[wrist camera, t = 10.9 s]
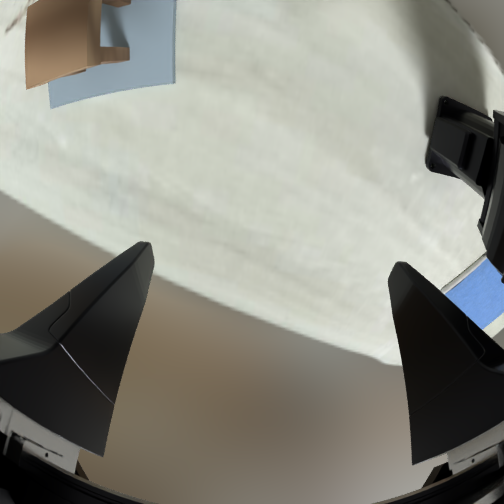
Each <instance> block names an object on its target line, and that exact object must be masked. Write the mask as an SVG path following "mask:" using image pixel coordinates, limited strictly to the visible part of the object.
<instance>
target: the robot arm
mask: <svg viewBox="0 0 504 504" xmlns="http://www.w3.org/2000/svg"><path fill="white" fill-rule="evenodd" d="M445 100H446V104H444V101H445ZM493 118H494V122H492V119H491V118H490V117H488V116H486V115H484V114H482V113H481V112H479V111H477V110H475V109H473V108H471V107H468V106H466V105H464V104H462V103H460V102H458V101H455V100H453V99H451V98H448V97H446V96H441V97H440V99H439V105H438V111H437V116H436V120H435V125H434V130H433V135H432V139H431V144H430V150H429V154H428V158H427V162H426V167H427V169H428V170H430V171H431V172H435V173H440V174H444V175H447V176H451V177H455V178H459V179H461V180H463V181H464V182H465V183H466V184H468V185H469V186H470V187H471V188H472V189H473V190H475V191H476V192H477V193H478V194H479V195H480V196H481V197H483V198H484V199H485V200H484V205H483V210H482V214H481V218H480V219H479V221H478V225H477V226H478V229H479V231H480V233H481V235H482V240H483V243H484V245H485V248H486V250H487V251H486V257H487V259H488V260H489V261H490V263H491V264H492V265H493V266H494V267H495V269H496V270H497V271H498V272H499V273H500V274H501V275H502V278H501V282H502V283H503V284H504V112H502V111H497V110H493ZM432 163H433V166H432V167H431V164H432ZM153 269H154V256H153V251H152V246H151V243H149V242H142V241H140V242H138V243H136V244H135V245H133V246H132V247H130V248H129V249H127V250H126V251H124V252H123V253H121V254H120V255H118V256H117V257H116V258H114V259H113V260H111V261H110V262H109V263H107V264H106V265H104V266H103V267H101V268H100V269H99V270H97V271H96V272H94V273H93V274H92V275H90V276H89V277H87V278H86V279H85V280H83V281H82V282H81V283H79V284H78V285H77V286H75V287H74V288H73V289H71V291H69V292H67V293H66V294H65V295H63V296H62V297H61V298H60V299H58V300H57V301H55V302H54V303H53V304H51V305H50V306H48V307H47V308H46V309H44V310H43V311H41V312H40V313H38V314H37V315H36V316H34V317H32V318H31V319H30V320H28V321H27V322H25V323H24V324H22V325H21V326H20V327H18V328H17V329H15V330H13V331H11V332H8V333H3V334H0V504H157V503H153V502H149V501H146V500H142V499H138V498H135V497H132V496H129V495H126V494H123V493H120V492H117V491H114V490H111V489H108V488H106V487H103V486H100V485H98V484H96V483H93V482H91V481H89V479H88V478H87V476H86V474H85V472H84V471H83V469H82V467H81V465H80V463H79V462H78V460H77V459H78V455H79V451H80V448H81V449H83V450H85V451H88V452H91V453H93V454H95V455H98V456H101V457H103V455H104V451H105V446H106V441H107V436H108V432H109V427H110V422H111V418H112V414H113V410H114V404H115V401H116V397H117V393H118V389H119V386H120V381H121V378H122V374H123V371H124V367H125V364H126V361H127V357H128V354H129V351H130V347H131V344H132V341H133V338H134V335H135V331H136V329H137V326H138V323H139V320H140V317H141V314H142V311H143V307H144V305H145V302H146V298H147V294H148V289H149V285H150V281H151V276H152V273H153ZM388 287H389V293H390V300H391V307H392V314H393V320H394V325H395V329H396V334H397V339H398V344H399V349H400V354H401V360H402V365H403V372H404V378H405V385H406V392H407V400H408V409H409V415H410V416H409V419H410V431H411V432H410V433H411V450H412V465H416V464H419V463H422V462H425V461H428V460H430V459H433V458H436V457H438V456H441V455H444V454H446V453H447V457H448V462H446V463H444V464H441V465H439V466H437V467H434V468H433V470H432V472H431V474H430V475H429V477H428V479H427V480H426V482H425V483H424V485H423V487H422V488H421V489H419V490H416V491H413V492H410V493H407V494H405V495H401V496H398V497H395V498H391V499H388V500H384V501H381V502H377V503H373V504H504V349H502V348H501V347H500V346H499V345H498V344H497V343H496V342H495V341H494V340H493V339H492V338H490V337H489V336H488V335H487V334H486V333H485V332H484V331H483V330H482V329H481V328H480V327H479V326H477V325H476V324H475V323H474V322H473V321H472V320H471V319H470V318H469V317H468V316H466V314H465V313H464V312H463V311H462V310H461V309H460V308H459V307H457V306H456V305H455V304H454V303H453V302H452V301H451V300H450V299H449V298H448V297H447V296H445V295H444V294H443V293H442V292H441V291H440V290H439V289H438V288H436V287H435V286H434V285H433V284H432V283H431V282H430V281H428V280H427V279H426V278H425V277H424V276H423V275H421V274H420V273H419V272H418V271H417V270H415V269H414V268H413V267H412V266H410V265H409V264H408V263H407V262H400V261H398V262H396V263H395V265H394V267H393V269H392V271H391V273H390V275H389V278H388Z"/></svg>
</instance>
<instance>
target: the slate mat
mask: <svg viewBox="0 0 504 504" xmlns="http://www.w3.org/2000/svg"><path fill="white" fill-rule="evenodd" d="M175 22H176V0H131V4H130V5H126V6H122V7H119V8H117V7H114V6H110V5H106V4H102V9H101V33H100V46H104V47H129V48H130V60H129V61H124V62H120V63H111V64H101V65H98V66H94V67H91V68H88V69H86V72H82V73H79V74H76V75H71V76H66V77H61V78H58V79H55V80H53V81H50V82H48V87H49V98H50V107H51V109H53V108H56V107H59V106H62V105H65V104H69V103H72V102H76V101H79V100H83V99H87V98H91V97H95V96H100V95H104V94H109V93H114V92H119V91H124V90H130V89H136V88H142V87H149V86H156V85H165V84H174V83H175Z"/></svg>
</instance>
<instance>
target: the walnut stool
mask: <svg viewBox="0 0 504 504" xmlns="http://www.w3.org/2000/svg"><path fill="white" fill-rule="evenodd" d="M102 4H106V5H110V6H114V7H117V8H119V7H122V6H126V5H130V4H131V0H39V1H37V2H35V3H34V4H32V5H31V6H29V7H28V9H27V19H26V34H25V74H26V90H27V89H30V88H33V87H37V86H40V85H43V84H45V83H48V82H50V81H53V80H55V79H58V78H61V77H66V76H71V75H76V74H79V73H82V72H86V69H88V68H91V67H94V66H98V65H101V64H111V63H120V62H124V61H129V60H130V48H129V47H104V46H100V33H101V9H102Z"/></svg>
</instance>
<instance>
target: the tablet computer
mask: <svg viewBox="0 0 504 504" xmlns="http://www.w3.org/2000/svg"><path fill="white" fill-rule="evenodd" d="M501 278H502V275H501V274H500V273H499V272H498V271H497V270H496V269H495V267H494V266H493V265H492V264H491V263H490V261H489V260H488V259H487V257H486V253H485V254H484V255H483V256H482V257H481V258H480V259H478V260H477V261H476V262H475V263H474V264H473V265H471V266H470V267H469V268H468V269H467V270H466V271H464V272H463V273H462V274H461V275H459V276H458V277H457V278H456V279H454V280H453V281H452V282H450V283H449V284H448V285H447V286H445V287H444V288H443V289H441V290H440V291H441V292H442V293H443V294H444V295H445V296H447V297H448V298H449V299H450V300H451V301H452V302H453V303H454V304H455V305H456V306H457V307H459V308H460V309H461V310H462V311H463V312H464V313H465V314H466V316H468V317H469V318H470V319H471V320H472V321H473V322H474V323H475V324H476V325H477V326H479V327H480V328H481V329H484V328H485V327H486V326H487V325H489V324H490V323H491V322H492V321H494V320H495V319H496V318H497V317H498V316H500V315H501V314H502V313H503V312H504V284H503V283H502V282H501Z"/></svg>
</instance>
